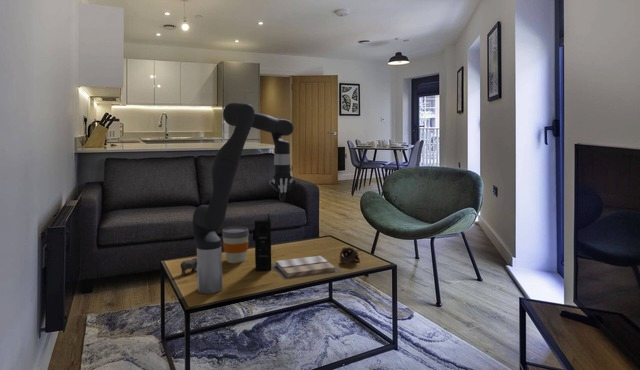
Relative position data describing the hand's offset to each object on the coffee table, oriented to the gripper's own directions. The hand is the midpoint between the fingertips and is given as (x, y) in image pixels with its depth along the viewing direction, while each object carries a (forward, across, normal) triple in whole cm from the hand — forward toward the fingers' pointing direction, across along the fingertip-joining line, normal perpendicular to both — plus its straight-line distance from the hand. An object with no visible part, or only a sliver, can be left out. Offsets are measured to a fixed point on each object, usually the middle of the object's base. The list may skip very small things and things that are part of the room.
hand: (282, 200), depth 203 cm
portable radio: (+29, -13, -10) cm, 33 cm away
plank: (+28, +5, -12) cm, 31 cm away
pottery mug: (+29, +28, -15) cm, 43 cm away
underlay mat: (+29, +5, -16) cm, 33 cm away
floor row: (+29, +5, -22) cm, 36 cm away
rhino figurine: (+29, -42, -1) cm, 51 cm away
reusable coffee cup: (+29, -21, +8) cm, 37 cm away
